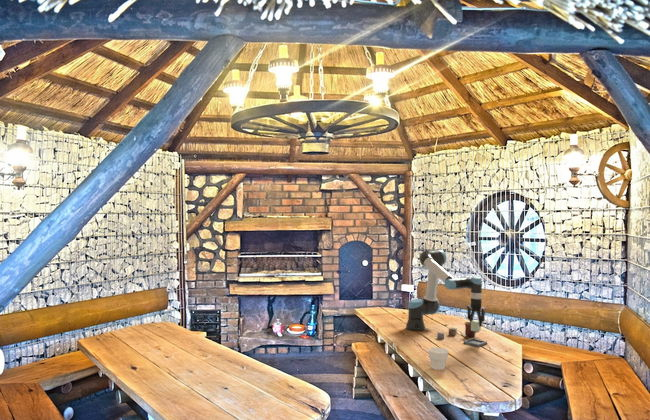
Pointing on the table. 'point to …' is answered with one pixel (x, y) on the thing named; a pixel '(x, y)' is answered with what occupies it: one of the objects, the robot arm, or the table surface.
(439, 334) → the rubber puck
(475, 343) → the tray
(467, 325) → the mug
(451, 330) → the walnut block
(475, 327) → the sage brick
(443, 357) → the cup
